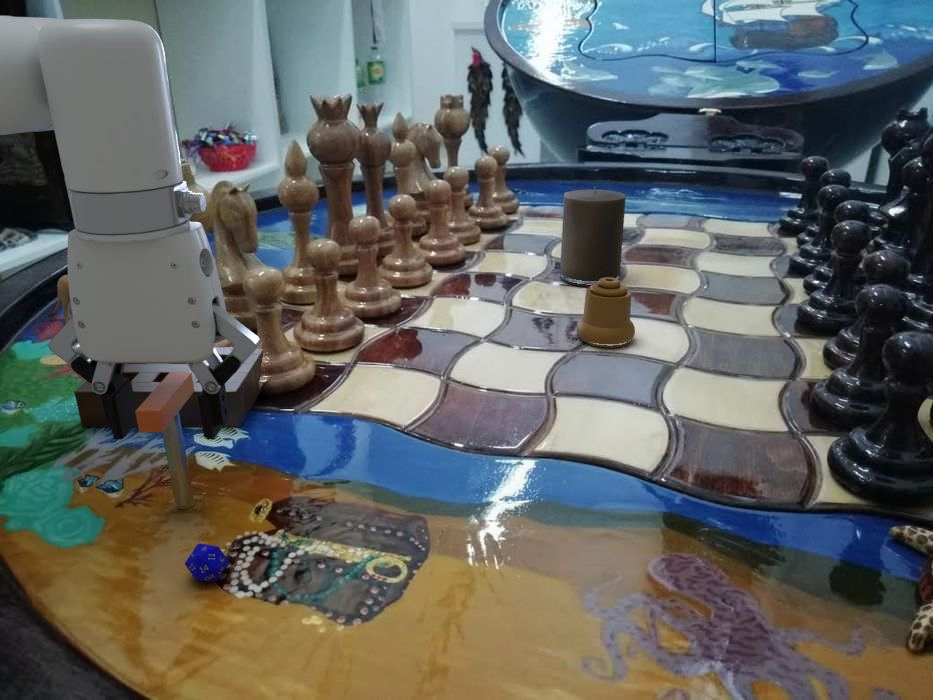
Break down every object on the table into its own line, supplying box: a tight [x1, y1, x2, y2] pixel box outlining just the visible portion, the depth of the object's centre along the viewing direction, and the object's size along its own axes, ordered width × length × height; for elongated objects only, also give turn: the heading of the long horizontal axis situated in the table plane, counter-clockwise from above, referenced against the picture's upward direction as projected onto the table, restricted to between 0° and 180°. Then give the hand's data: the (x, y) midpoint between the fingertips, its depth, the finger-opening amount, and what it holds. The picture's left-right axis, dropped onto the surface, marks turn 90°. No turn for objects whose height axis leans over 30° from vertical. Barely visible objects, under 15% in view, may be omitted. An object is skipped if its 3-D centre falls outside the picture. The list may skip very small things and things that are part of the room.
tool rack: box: [74, 346, 266, 428], centre depth 78 cm, size 11×16×4 cm
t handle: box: [135, 372, 195, 510], centre depth 60 cm, size 2×7×11 cm, turn 0°
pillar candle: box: [559, 186, 627, 288], centre depth 117 cm, size 10×10×15 cm
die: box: [184, 543, 230, 583], centre depth 53 cm, size 3×3×3 cm
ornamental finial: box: [576, 277, 636, 349], centre depth 94 cm, size 8×8×8 cm
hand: (170, 429), depth 59 cm, fingers open, 6 cm apart
